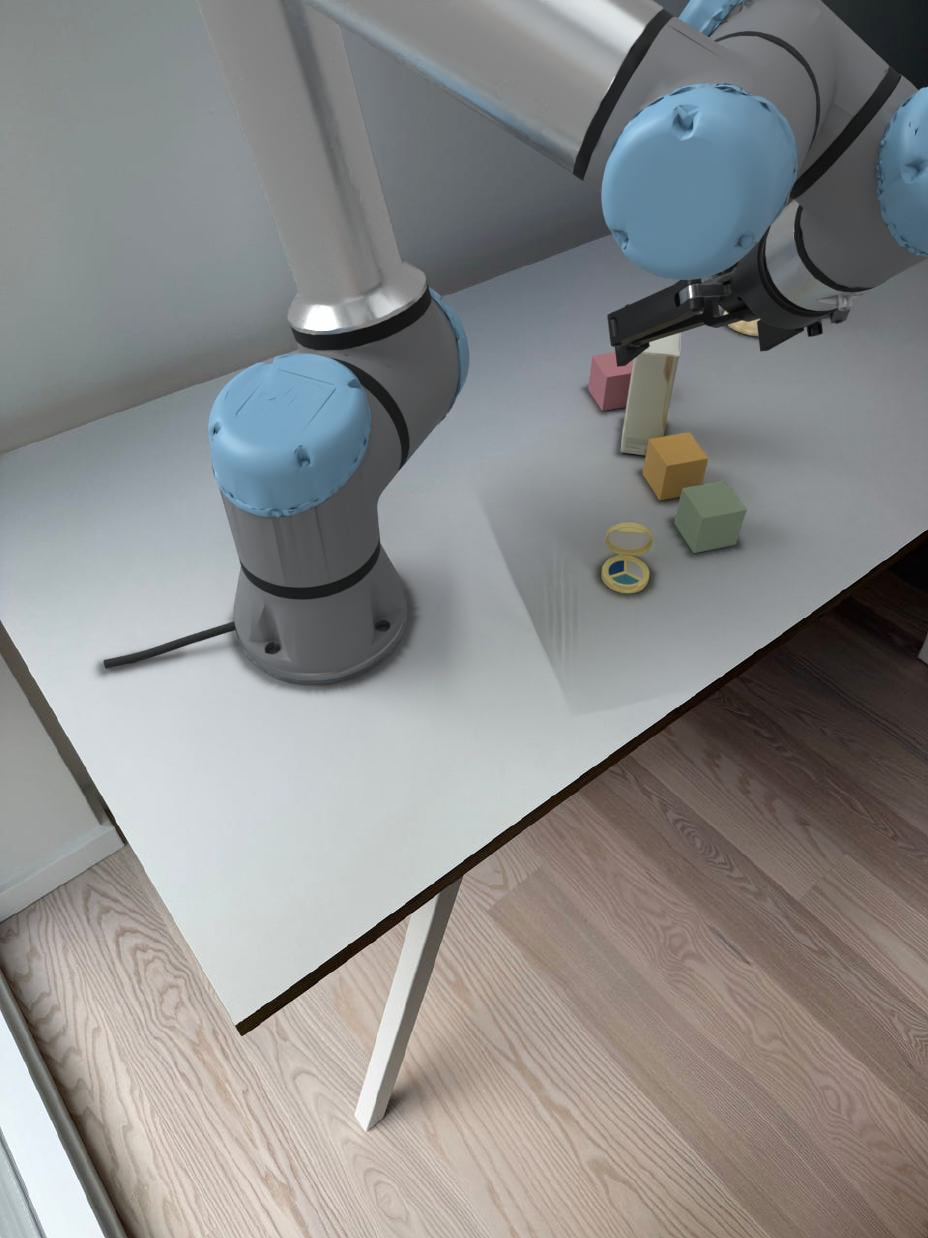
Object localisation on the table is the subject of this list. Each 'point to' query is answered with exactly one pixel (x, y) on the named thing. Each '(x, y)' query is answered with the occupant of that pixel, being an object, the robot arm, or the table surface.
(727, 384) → the table surface
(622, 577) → the eyeshadow
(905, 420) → the table surface
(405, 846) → the table surface
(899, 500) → the table surface
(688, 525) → the colored toy blocks
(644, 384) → the cosmetic box
